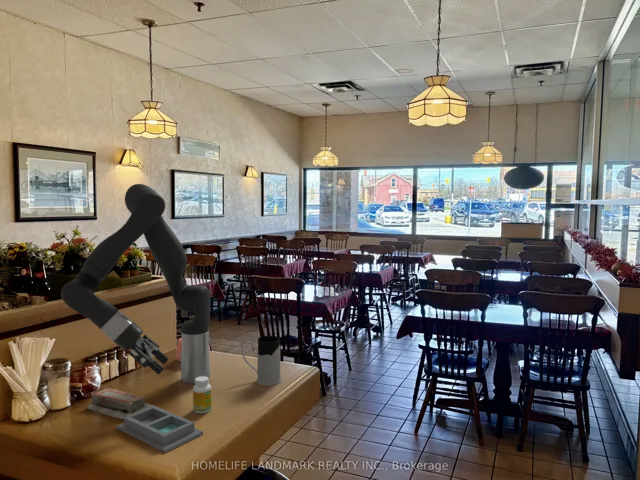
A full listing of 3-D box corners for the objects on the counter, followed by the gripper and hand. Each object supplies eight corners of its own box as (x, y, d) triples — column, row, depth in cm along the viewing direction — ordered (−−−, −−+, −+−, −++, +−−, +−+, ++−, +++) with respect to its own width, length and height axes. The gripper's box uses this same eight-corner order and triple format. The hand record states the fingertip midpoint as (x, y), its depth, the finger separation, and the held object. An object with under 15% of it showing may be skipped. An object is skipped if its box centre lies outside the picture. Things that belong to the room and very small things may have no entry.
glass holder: (278, 386, 167) (277, 343, 165) (238, 383, 169) (237, 340, 168) (284, 376, 175) (284, 335, 174) (246, 374, 178) (245, 333, 176)
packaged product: (84, 395, 149) (111, 383, 158) (85, 410, 149) (112, 398, 158) (128, 406, 141) (154, 393, 150) (128, 422, 141) (154, 409, 150)
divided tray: (116, 428, 137) (116, 417, 137) (153, 412, 146) (153, 402, 146) (165, 452, 124) (165, 440, 124) (202, 434, 133) (202, 422, 133)
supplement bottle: (207, 414, 145) (206, 382, 144) (190, 412, 146) (189, 381, 146) (214, 406, 151) (213, 376, 150) (198, 405, 152) (197, 374, 151)
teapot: (215, 354, 201) (214, 329, 200) (196, 369, 183) (195, 342, 182) (188, 352, 203) (187, 327, 202) (167, 367, 185) (167, 340, 184)
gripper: (125, 327, 136) (169, 365, 139) (136, 315, 150) (176, 349, 153) (105, 347, 136) (150, 385, 139) (119, 332, 150) (159, 367, 153)
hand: (164, 366), depth 146 cm, fingers open, 8 cm apart
